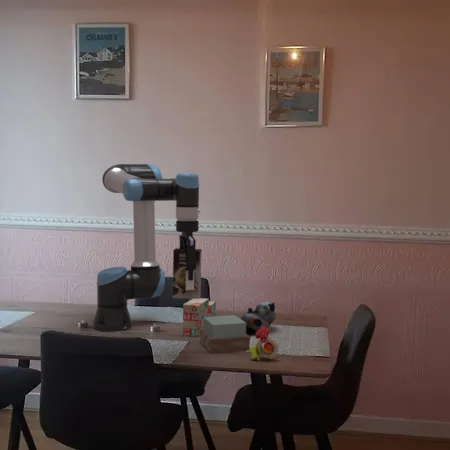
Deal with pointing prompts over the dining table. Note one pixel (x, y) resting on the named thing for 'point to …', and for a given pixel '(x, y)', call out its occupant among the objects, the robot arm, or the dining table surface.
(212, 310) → the stack of blocks
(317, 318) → the dining table surface
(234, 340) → the walnut slab
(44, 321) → the dining table surface
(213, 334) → the grey-green block
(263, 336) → the bird rattle
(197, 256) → the coffee box
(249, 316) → the lucky cat figurine
